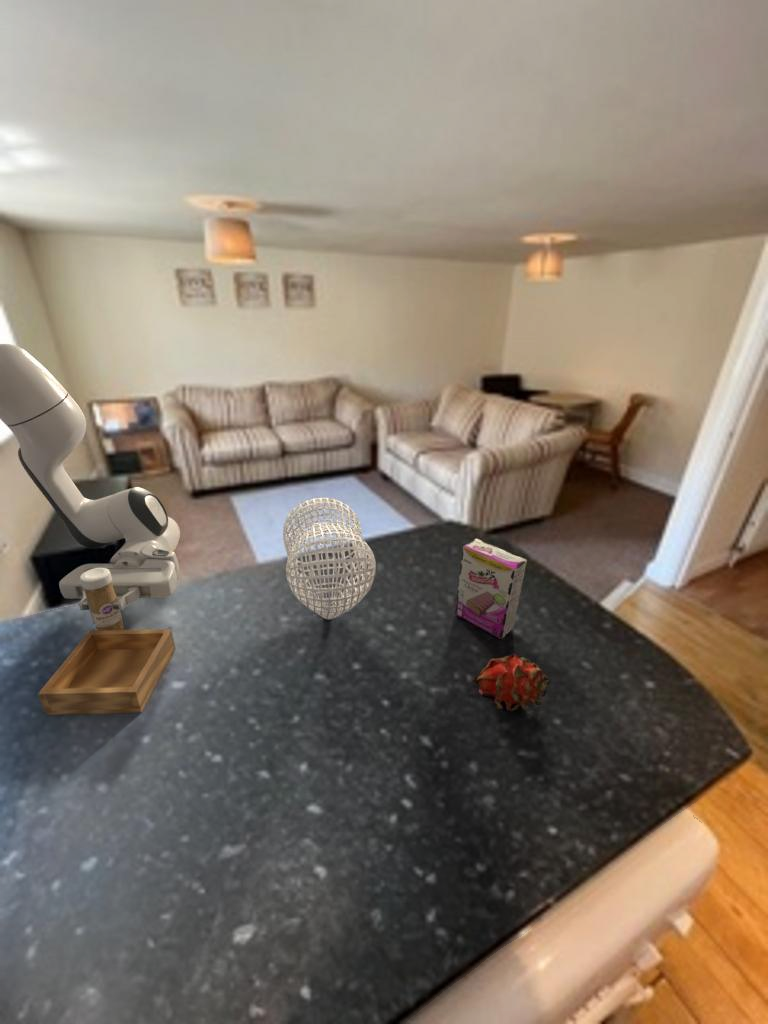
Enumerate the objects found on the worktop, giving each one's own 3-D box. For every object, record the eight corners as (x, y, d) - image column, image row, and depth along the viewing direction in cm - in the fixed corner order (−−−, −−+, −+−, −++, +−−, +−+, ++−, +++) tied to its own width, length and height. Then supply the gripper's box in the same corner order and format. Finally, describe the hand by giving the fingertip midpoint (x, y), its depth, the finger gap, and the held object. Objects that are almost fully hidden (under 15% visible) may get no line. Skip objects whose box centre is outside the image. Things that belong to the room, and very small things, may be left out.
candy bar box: (453, 615, 91) (461, 545, 84) (467, 605, 95) (475, 537, 88) (501, 642, 84) (514, 568, 77) (514, 630, 88) (528, 558, 81)
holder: (45, 715, 67) (37, 694, 65) (95, 649, 80) (89, 630, 78) (141, 712, 68) (135, 692, 66) (175, 648, 81) (171, 629, 79)
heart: (381, 658, 80) (385, 550, 70) (293, 671, 76) (285, 560, 67) (354, 573, 104) (354, 485, 95) (286, 580, 101) (279, 490, 91)
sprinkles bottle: (107, 646, 81) (88, 583, 75) (92, 637, 83) (73, 575, 77) (131, 631, 84) (115, 571, 79) (116, 623, 86) (99, 563, 81)
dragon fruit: (549, 713, 72) (473, 714, 73) (540, 658, 76) (469, 661, 78) (559, 708, 64) (475, 709, 66) (549, 647, 69) (469, 650, 70)
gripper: (79, 552, 90) (34, 592, 78) (182, 552, 91) (154, 591, 79) (87, 578, 93) (45, 621, 81) (187, 578, 94) (161, 620, 82)
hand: (100, 606), depth 80 cm, fingers closed on sprinkles bottle, 4 cm apart
